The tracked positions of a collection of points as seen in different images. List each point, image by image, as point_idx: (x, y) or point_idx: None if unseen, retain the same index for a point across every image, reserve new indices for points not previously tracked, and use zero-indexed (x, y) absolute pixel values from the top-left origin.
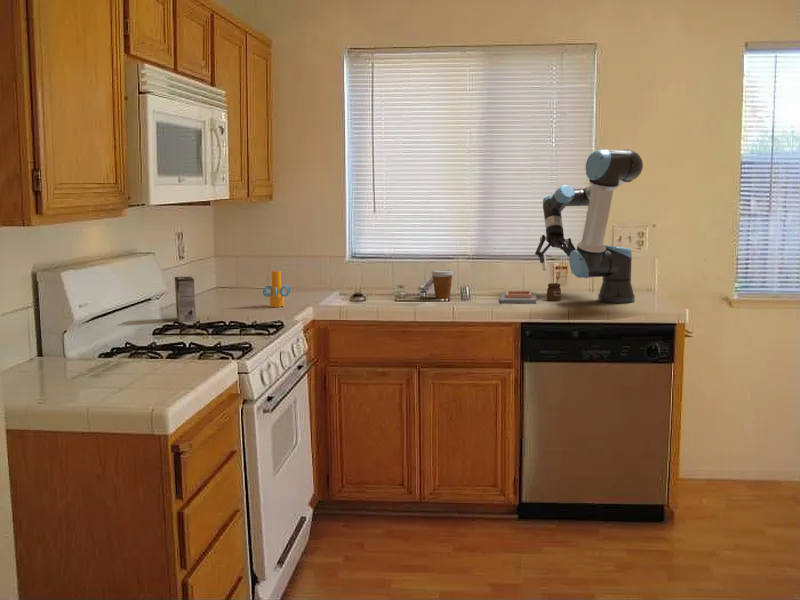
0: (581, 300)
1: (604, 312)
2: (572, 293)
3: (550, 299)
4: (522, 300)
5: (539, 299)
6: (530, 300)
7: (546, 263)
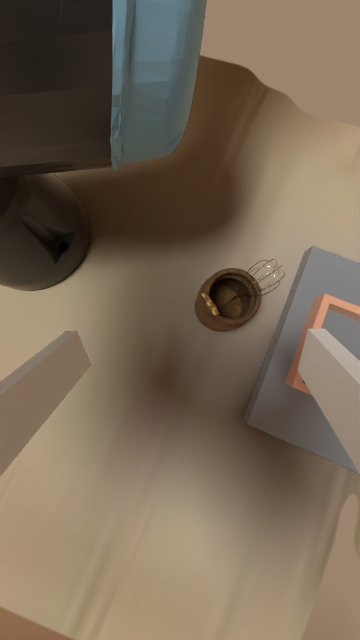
0: (134, 273)
1: None
2: (83, 446)
3: (238, 293)
4: (358, 264)
5: (260, 338)
6: (331, 253)
7: (334, 356)
